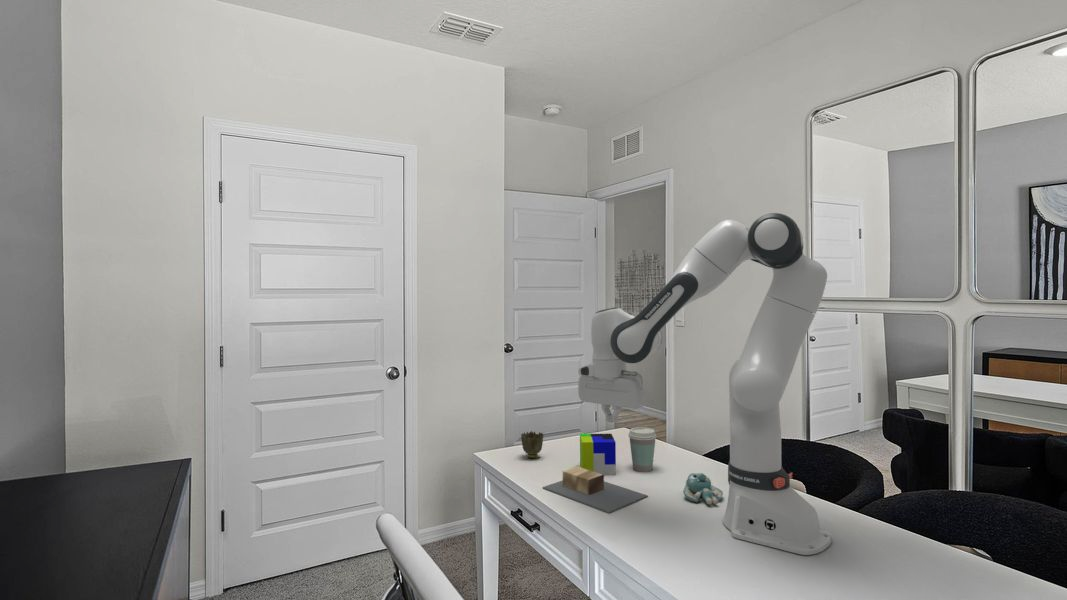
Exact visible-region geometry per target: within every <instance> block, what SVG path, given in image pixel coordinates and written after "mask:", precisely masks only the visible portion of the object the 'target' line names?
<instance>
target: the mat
mask: <svg viewBox="0 0 1067 600" xmlns="http://www.w3.org/2000/svg"><path fill="white" fill-rule="evenodd" d="M542 489H543V490H546V491H548V492H552V493H553V494H556V495H559V496H562V497H564V498H567V499H569V500H572V501H575V502H577V503H580V504H582V505H586V506H588V507H591V508H593V509H596V510H598V511H601V512H604V513H606V514H608V515H609V514H612V513H615V512H617V511H618V510H621V509H623V508H626V507H628V506H630V505H633V504H635V503H637V502H639V501H642V500H644V499H646V498H649V495H648V494H645V493H643V492H638V491H635V490H633V489H629V488H626V487H623V486H621V485H617V484H614V483H611V482H608V481H605V480H604V490H601V491H598V492H596V493H593V494H590V495H588V494H585V493H583V492H580V491H577V490H574V489H571V488H569V487H566V486H563V479H562V480H560V481H556V482H554V483H551V484H547V485H545V486H542Z"/></svg>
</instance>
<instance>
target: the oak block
mask: <svg viewBox="0 0 1067 600" xmlns="http://www.w3.org/2000/svg"><path fill="white" fill-rule="evenodd" d="M562 480H563V486H566V487H569V488H571V489H574V490H577V491H580V492H583V493H585V494H588V495H590V494H593V493H596V492H598V491H601V490H604V481H605V475H603V474H599V473H596V472H593V471H590V470H587V469H583V468H581V466H575V467H572V468H568V469H566V470H562Z"/></svg>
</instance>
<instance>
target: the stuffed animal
mask: <svg viewBox="0 0 1067 600" xmlns="http://www.w3.org/2000/svg"><path fill="white" fill-rule="evenodd" d="M711 480H712V479H710V477H709V476H707V475H706V474H704V472H698V473H697V472H696V473H694V472H693V473H690V474H689V475H688V476H687V479H686V481H685V486H684V488H683V491H682V492H683V495H684V497H685V498H686V499H687V500H689V501H691V502H692V503H693V502H694V503H699V502H700V501H701V498H702V499H703V500H704V501H705V503H706V504H707V505H712V504H713V505H717V504H718V503H719V501H720V500H721V499H722V497H723V495H724V492H723V490H721V489H720V488H718V487H716V486H714V485H712V481H711Z"/></svg>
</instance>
